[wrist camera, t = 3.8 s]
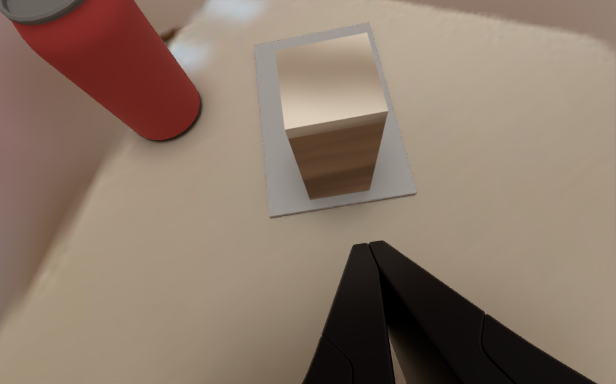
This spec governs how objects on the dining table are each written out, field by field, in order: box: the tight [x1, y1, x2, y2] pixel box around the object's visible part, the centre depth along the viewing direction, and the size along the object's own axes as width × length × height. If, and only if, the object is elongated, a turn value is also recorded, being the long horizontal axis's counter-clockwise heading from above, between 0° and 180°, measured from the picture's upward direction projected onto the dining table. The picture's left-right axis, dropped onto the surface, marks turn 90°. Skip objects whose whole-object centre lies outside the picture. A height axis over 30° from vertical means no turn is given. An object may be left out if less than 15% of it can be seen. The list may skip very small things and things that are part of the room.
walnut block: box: [275, 33, 388, 200], centre depth 18 cm, size 4×4×10 cm
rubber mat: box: [254, 22, 417, 218], centre depth 25 cm, size 17×11×1 cm, turn 8°
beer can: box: [0, 0, 200, 140], centre depth 21 cm, size 7×7×12 cm
